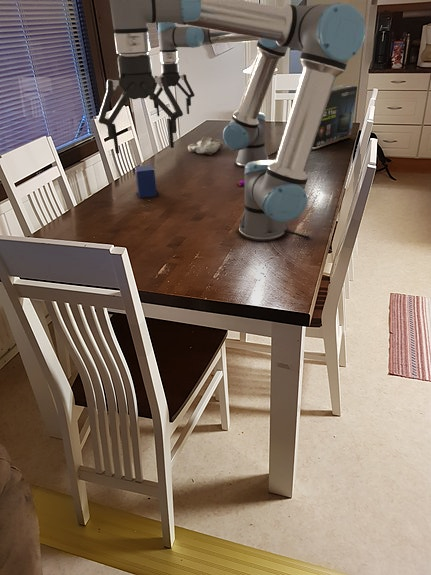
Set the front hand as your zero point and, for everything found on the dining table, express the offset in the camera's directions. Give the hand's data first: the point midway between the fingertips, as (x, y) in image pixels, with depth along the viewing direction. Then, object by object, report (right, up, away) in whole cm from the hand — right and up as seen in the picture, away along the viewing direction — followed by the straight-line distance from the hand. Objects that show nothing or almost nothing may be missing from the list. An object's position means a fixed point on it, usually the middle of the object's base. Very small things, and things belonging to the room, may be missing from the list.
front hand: (144, 149), depth 115 cm
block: (-10, +3, +71) cm, 71 cm away
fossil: (+12, +36, +124) cm, 130 cm away
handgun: (+33, +5, +70) cm, 77 cm away
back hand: (-2, +44, +93) cm, 103 cm away
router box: (+76, +43, +130) cm, 157 cm away
